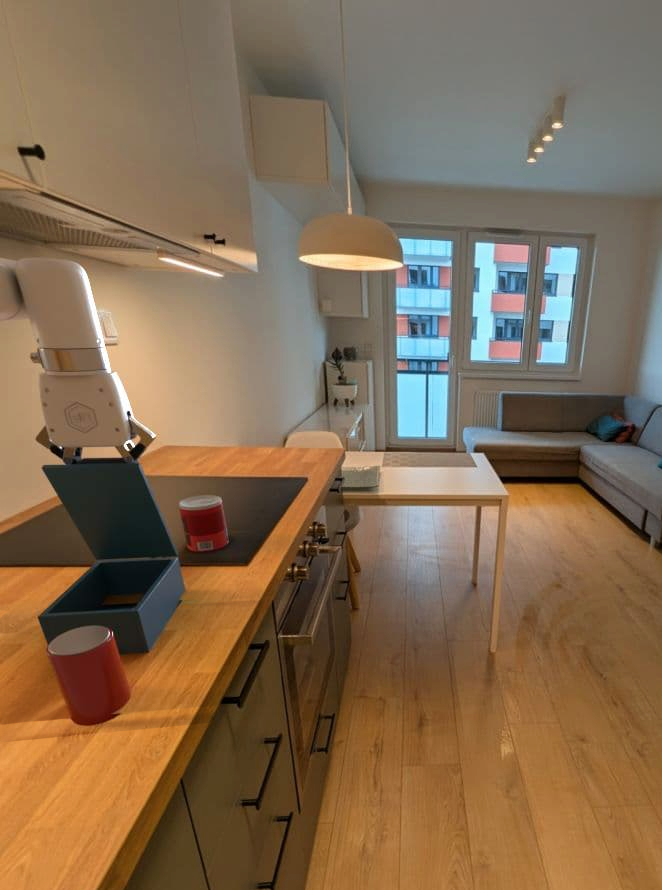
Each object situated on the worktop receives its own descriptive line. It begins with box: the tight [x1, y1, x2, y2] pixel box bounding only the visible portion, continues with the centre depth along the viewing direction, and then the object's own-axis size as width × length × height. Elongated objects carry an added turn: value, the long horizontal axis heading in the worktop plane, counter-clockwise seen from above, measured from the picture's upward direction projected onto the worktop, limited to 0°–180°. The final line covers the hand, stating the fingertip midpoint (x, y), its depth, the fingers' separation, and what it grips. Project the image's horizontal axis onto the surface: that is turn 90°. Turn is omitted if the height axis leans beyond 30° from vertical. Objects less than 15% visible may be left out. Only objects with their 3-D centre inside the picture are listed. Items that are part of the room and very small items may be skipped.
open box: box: [37, 556, 186, 656], centre depth 79 cm, size 18×13×8 cm
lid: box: [41, 456, 179, 561], centre depth 80 cm, size 18×13×5 cm
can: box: [45, 626, 132, 726], centre depth 62 cm, size 7×7×10 cm
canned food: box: [178, 494, 230, 553], centre depth 105 cm, size 8×8×11 cm
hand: (110, 486), depth 77 cm, fingers closed on lid, 6 cm apart
